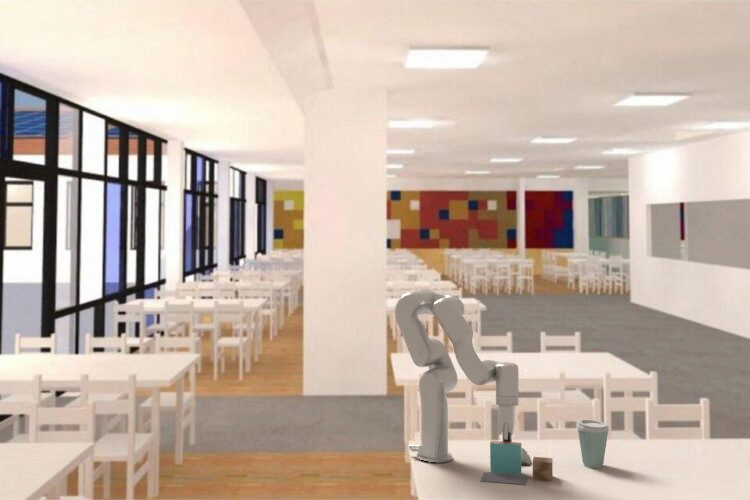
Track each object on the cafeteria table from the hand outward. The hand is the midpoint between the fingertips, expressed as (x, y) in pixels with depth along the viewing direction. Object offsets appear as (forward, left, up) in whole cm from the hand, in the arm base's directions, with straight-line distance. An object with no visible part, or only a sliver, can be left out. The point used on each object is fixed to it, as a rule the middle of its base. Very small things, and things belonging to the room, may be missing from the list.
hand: (507, 454), depth 246 cm
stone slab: (+1, +17, -6) cm, 18 cm away
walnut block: (+12, -6, -5) cm, 14 cm away
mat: (0, -10, -5) cm, 12 cm away
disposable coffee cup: (+28, +13, -5) cm, 31 cm away
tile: (0, -3, -5) cm, 6 cm away
